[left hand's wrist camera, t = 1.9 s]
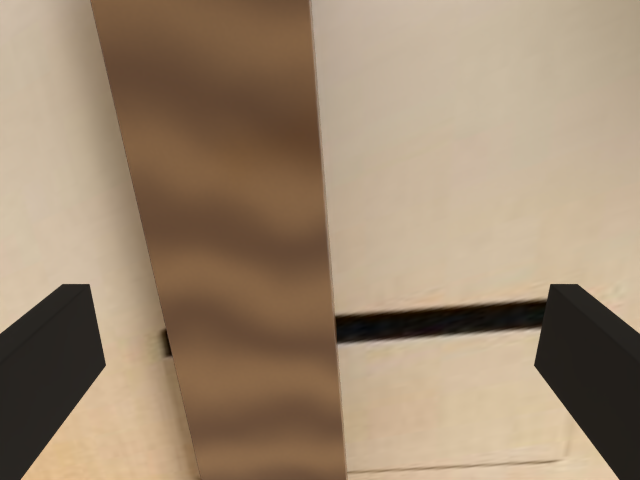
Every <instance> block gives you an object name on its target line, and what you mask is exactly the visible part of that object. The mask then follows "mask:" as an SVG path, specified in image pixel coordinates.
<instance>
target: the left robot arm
mask: <svg viewBox="0 0 640 480" xmlns="http://www.w3.org/2000/svg"><path fill="white" fill-rule="evenodd" d="M105 366H106V363H105V358H104V353H103V348H102V344H101V339H100V334H99V329H98V324H97V319H96V314H95V309H94V304H93V299H92V294H91V289H90V284H62V285H61V286H60V287H58V288H57V289H56V290H55V291H53V292H52V293H51V294H50V295H48V296H47V297H46V298H45V299H43V300H42V301H41V302H40V303H38V304H37V305H36V306H35V307H33V308H32V309H31V310H30V311H28V312H27V313H26V314H25V315H23V316H22V317H21V318H20V319H18V320H17V321H16V322H15V323H13V324H12V325H11V326H10V327H8V328H7V329H6V330H5V331H3V332H2V333H1V334H0V480H21V478H22V477H23V476H24V474H25V473H26V472H27V470H28V469H29V468H30V466H31V465H32V464H33V462H34V461H35V460H36V458H37V457H38V456H39V454H40V453H41V452H42V450H43V449H44V448H45V446H46V445H47V444H48V442H49V441H50V440H51V438H52V437H53V436H54V434H55V433H56V432H57V430H58V429H59V428H60V426H61V425H62V424H63V422H64V421H65V420H66V418H67V417H68V415H69V414H70V413H71V411H72V410H73V409H74V407H75V406H76V405H77V403H78V402H79V401H80V399H81V398H82V397H83V395H84V394H85V393H86V391H87V390H88V389H89V387H90V386H91V385H92V383H93V382H94V381H95V379H96V378H97V377H98V375H99V374H100V373H101V371H102V370H103V369H104V367H105ZM534 366H535V367H536V369H537V370H538V371H539V373H540V374H541V375H542V377H543V378H544V379H545V381H546V382H547V383H548V385H549V386H550V387H551V389H552V390H553V391H554V393H555V394H556V395H557V397H558V398H559V399H560V401H561V402H562V403H563V405H564V406H565V407H566V409H567V410H568V411H569V413H570V414H571V416H572V417H573V418H574V420H575V421H576V422H577V424H578V425H579V426H580V428H581V429H582V430H583V432H584V433H585V434H586V436H587V437H588V438H589V440H590V441H591V442H592V444H593V445H594V446H595V448H596V449H597V450H598V452H599V453H600V454H601V456H602V457H603V458H604V460H605V461H606V462H607V464H608V465H609V466H610V468H611V469H612V470H613V472H614V473H615V474H616V476H617V477H618V478H619V480H640V334H639V333H638V332H637V331H635V330H634V329H633V328H632V327H630V326H629V325H628V324H627V323H625V322H624V321H623V320H622V319H620V318H619V317H618V316H617V315H615V314H614V313H613V312H612V311H610V310H609V309H608V308H607V307H605V306H604V305H603V304H602V303H600V302H599V301H598V300H597V299H595V298H594V297H593V296H592V295H590V294H589V293H588V292H587V291H585V290H584V289H583V288H582V287H580V286H579V285H578V284H550V289H549V294H548V299H547V304H546V309H545V314H544V319H543V324H542V329H541V334H540V339H539V344H538V348H537V353H536V358H535V363H534Z"/></svg>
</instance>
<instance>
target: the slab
mask: <svg viewBox="0 0 640 480" xmlns="http://www.w3.org/2000/svg"><path fill="white" fill-rule="evenodd" d="M90 1H91V5H92V10H93V14H94V18H95V23H96V27H97V31H98V36H99V40H100V44H101V49H102V53H103V57H104V62H105V66H106V70H107V74H108V79H109V83H110V87H111V92H112V96H113V100H114V105H115V109H116V113H117V118H118V122H119V126H120V131H121V135H122V139H123V144H124V148H125V152H126V157H127V161H128V165H129V170H130V174H131V178H132V182H133V187H134V191H135V195H136V200H137V204H138V208H139V213H140V217H141V221H142V226H143V230H144V234H145V239H146V243H147V247H148V252H149V256H150V260H151V265H152V269H153V273H154V278H155V282H156V286H157V290H158V295H159V299H160V303H161V308H162V312H163V316H164V321H165V325H166V329H167V334H168V338H169V342H170V347H171V351H172V355H173V360H174V364H175V368H176V373H177V377H178V381H179V386H180V390H181V394H182V399H183V403H184V407H185V411H186V416H187V420H188V424H189V429H190V433H191V437H192V442H193V446H194V450H195V455H196V459H197V463H198V468H199V472H200V476H201V480H348V478H347V465H346V452H345V439H344V426H343V412H342V399H341V386H340V373H339V360H338V347H337V334H336V321H335V308H334V295H333V281H332V268H331V255H330V242H329V229H328V216H327V203H326V190H325V177H324V164H323V151H322V137H321V124H320V111H319V98H318V85H317V72H316V59H315V46H314V33H313V20H312V6H311V0H90Z"/></svg>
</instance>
